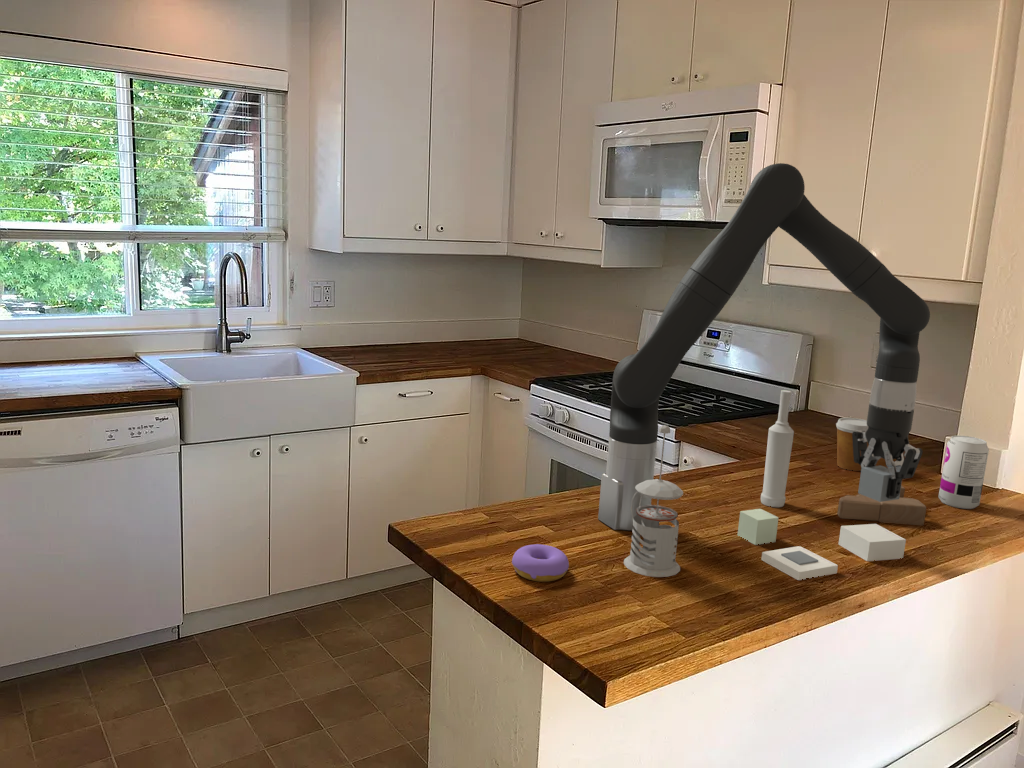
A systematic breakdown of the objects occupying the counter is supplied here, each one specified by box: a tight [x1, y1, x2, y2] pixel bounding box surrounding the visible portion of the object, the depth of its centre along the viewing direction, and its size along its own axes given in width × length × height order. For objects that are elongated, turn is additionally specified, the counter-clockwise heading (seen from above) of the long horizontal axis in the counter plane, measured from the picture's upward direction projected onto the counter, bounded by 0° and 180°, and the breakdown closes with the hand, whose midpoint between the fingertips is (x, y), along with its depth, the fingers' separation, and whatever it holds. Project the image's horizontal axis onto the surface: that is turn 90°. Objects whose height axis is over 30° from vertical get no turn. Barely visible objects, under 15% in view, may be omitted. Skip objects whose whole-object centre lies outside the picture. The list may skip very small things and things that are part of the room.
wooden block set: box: [836, 484, 927, 526], centre depth 180 cm, size 17×6×18 cm
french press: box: [623, 424, 684, 578], centre depth 142 cm, size 10×12×25 cm
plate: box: [761, 545, 839, 581], centre depth 147 cm, size 9×9×2 cm
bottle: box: [760, 389, 795, 508], centre depth 178 cm, size 5×5×25 cm
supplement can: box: [937, 435, 990, 510], centre depth 186 cm, size 8×8×15 cm
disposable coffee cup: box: [835, 417, 869, 472], centre depth 211 cm, size 10×10×12 cm
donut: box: [511, 543, 570, 583], centre depth 138 cm, size 10×9×5 cm
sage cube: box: [737, 508, 779, 546], centre depth 159 cm, size 5×5×5 cm
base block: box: [838, 523, 907, 562], centre depth 156 cm, size 8×8×4 cm
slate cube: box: [857, 465, 903, 502], centre depth 153 cm, size 5×5×5 cm
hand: (878, 492), depth 154 cm, fingers closed on slate cube, 5 cm apart
